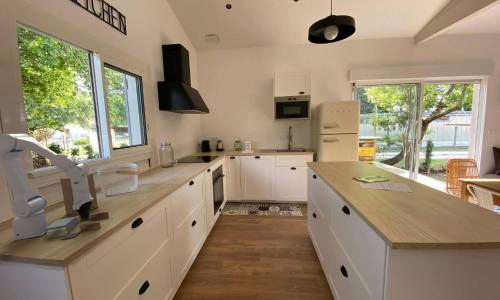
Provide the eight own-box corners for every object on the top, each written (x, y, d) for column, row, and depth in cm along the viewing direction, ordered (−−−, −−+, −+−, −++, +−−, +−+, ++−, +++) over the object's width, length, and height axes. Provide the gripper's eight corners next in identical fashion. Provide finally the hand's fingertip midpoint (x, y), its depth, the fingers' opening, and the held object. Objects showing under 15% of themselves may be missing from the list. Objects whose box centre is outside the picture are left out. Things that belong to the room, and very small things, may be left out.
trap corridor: (41, 244, 78) (40, 237, 78) (69, 220, 99) (68, 215, 98) (96, 233, 85) (95, 226, 84) (111, 213, 105) (110, 207, 105)
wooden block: (80, 214, 105) (74, 178, 103) (65, 214, 107) (59, 178, 105) (98, 207, 115) (93, 173, 113) (84, 206, 117) (79, 173, 115)
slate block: (46, 237, 84) (44, 228, 84) (57, 228, 92) (56, 220, 91) (66, 233, 86) (65, 225, 86) (76, 225, 94) (74, 217, 93)
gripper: (85, 193, 85) (89, 223, 87) (97, 185, 98) (101, 211, 100) (64, 196, 83) (69, 227, 84) (79, 187, 96) (84, 214, 98)
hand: (85, 218), depth 92 cm, fingers closed
